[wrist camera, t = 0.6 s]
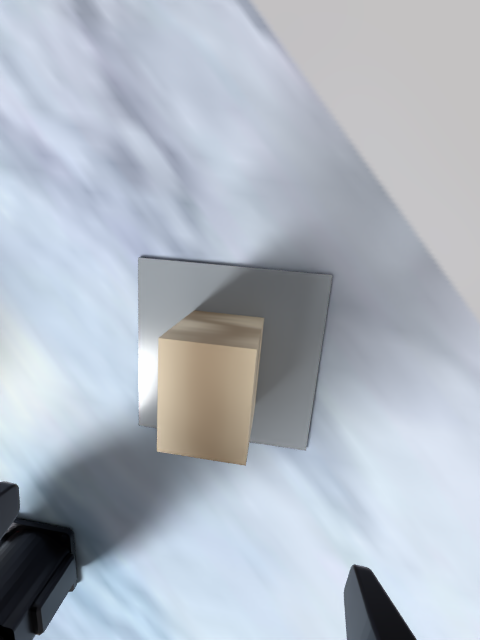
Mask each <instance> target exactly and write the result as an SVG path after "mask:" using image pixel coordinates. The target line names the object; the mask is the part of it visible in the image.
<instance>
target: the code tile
mask: <svg viewBox="0 0 480 640" xmlns="http://www.w3.org/2000/svg"><path fill="white" fill-rule="evenodd" d="M332 277H333V275H327V274H316V273H305V272H294V271H283V270H272V269H261V268H250V267H239V266H228V265H217V264H206V263H195V262H184V261H173V260H162V259H151V258H140V257H139V258H138V358H139V426H146V427H152V428H157V402H158V338H159V337H160V336H162V335H163V334H164V333H165V332H167V331H168V330H169V329H171V328H172V327H173V326H174V325H176V324H177V323H178V322H180V321H181V320H182V319H183V318H185V317H186V316H187V315H189V314H190V313H191V312H193V311H194V310H196V311H205V312H214V313H224V314H233V315H242V316H252V317H261V318H264V325H263V334H262V344H261V354H260V364H259V374H258V384H257V394H256V403H255V410H254V416H253V422H252V429H251V435H250V441H249V442H252V443H259V444H266V445H272V446H279V447H286V448H292V449H299V450H306V446H307V440H308V433H309V427H310V420H311V414H312V407H313V401H314V394H315V388H316V381H317V375H318V368H319V362H320V355H321V348H322V342H323V335H324V329H325V322H326V316H327V309H328V303H329V296H330V290H331V283H332Z"/></svg>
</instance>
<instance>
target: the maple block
mask: <svg viewBox="0 0 480 640" xmlns="http://www.w3.org/2000/svg"><path fill="white" fill-rule="evenodd" d="M263 325H264V318H261V317H252V316H242V315H233V314H224V313H214V312H205V311H196V310H194V311H193V312H191V313H190V314H189V315H187V316H186V317H185V318H183V319H182V320H181V321H180V322H178V323H177V324H176V325H174V326H173V327H172V328H171V329H169V330H168V331H167V332H165V333H164V334H163V335H162V336H160V337H159V338H158V402H157V452H163V453H170V454H176V455H182V456H189V457H195V458H201V459H207V460H214V461H220V462H226V463H233V464H239V465H245V466H246V460H247V453H248V447H249V441H250V435H251V429H252V422H253V416H254V410H255V403H256V394H257V384H258V374H259V364H260V354H261V344H262V334H263Z"/></svg>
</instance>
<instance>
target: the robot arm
mask: <svg viewBox="0 0 480 640" xmlns="http://www.w3.org/2000/svg"><path fill="white" fill-rule="evenodd" d="M19 509H20V500H19V487H18V485H17V484H14V483H10V482H0V640H33V638H34V637H35V635H41V634H42V633H43V632H44V631H45V630H46V628H47V626H48V625H49V623H50V621H51V620H52V618H53V616H54V615H55V613H56V612H57V610H58V608H59V607H60V605H61V603H62V602H63V600H64V598H65V597H66V595H67V593H68V592H72V591H73V590H74V589H75V587H76V585H77V576H76V562H75V549H74V535H73V532H72V530H70V529H68V528H64V527H58V526H53V525H48V524H43V523H37V522H32V521H27V520H22V519H16V517H17V515H18V513H19ZM344 606H345V619H346V632H347V640H417V639H416V638H415V636H414V635H413V633H412V632H411V630H410V629H409V627H408V626H407V624H406V623H405V621H404V619H403V618H402V616H401V615H400V613H399V612H398V610H397V609H396V607H395V606H394V604H393V603H392V601H391V600H390V598H389V596H388V595H387V593H386V592H385V590H384V589H383V587H382V586H381V584H380V583H379V581H378V580H377V578H376V577H375V575H374V573H373V572H372V571H371V570H370V569H369V568H367V567H364V566H359V565H352V567H351V569H350V572H349V575H348V578H347V582H346V585H345V589H344Z"/></svg>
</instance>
